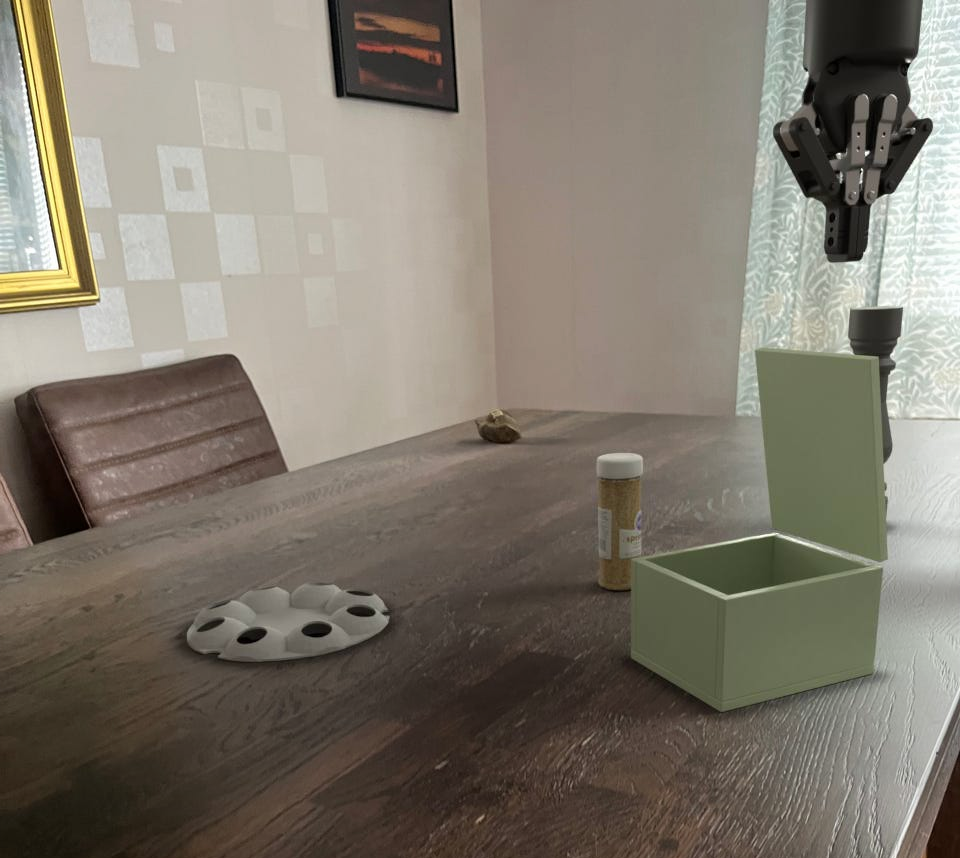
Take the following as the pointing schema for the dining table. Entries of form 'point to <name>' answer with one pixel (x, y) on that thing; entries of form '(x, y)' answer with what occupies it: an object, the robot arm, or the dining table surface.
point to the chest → (754, 618)
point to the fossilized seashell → (499, 427)
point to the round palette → (287, 623)
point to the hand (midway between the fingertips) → (844, 261)
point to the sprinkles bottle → (619, 517)
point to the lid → (824, 448)
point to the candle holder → (878, 352)
